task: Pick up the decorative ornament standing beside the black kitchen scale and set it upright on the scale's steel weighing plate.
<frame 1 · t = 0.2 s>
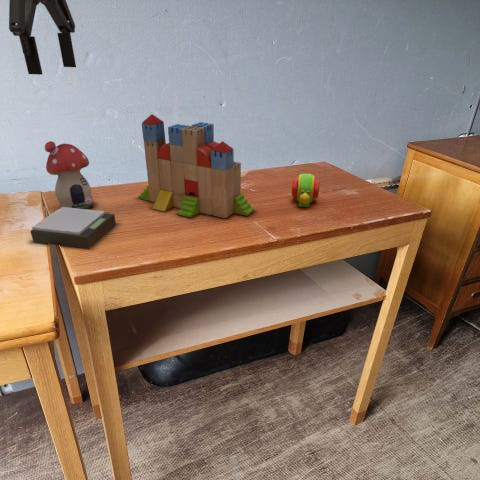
hand: (53, 70, 95), 27 cm above the table, tool pointing down, fingers open, 13 cm apart
block set: (194, 205, 105), on the table
decorative ornament: (77, 207, 103), on the table
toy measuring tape: (304, 196, 111), on the table
kitchen scale: (76, 232, 91), on the table
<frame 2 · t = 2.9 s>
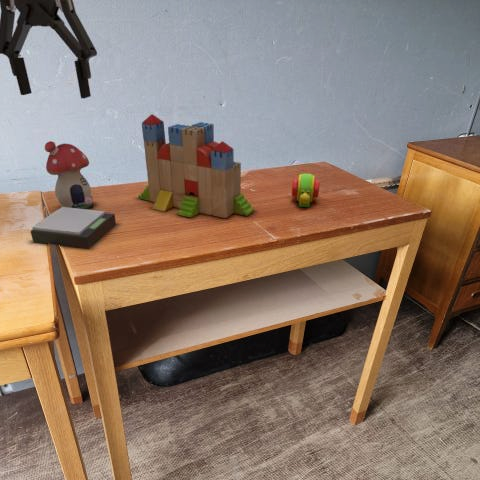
hand: (55, 95, 91), 23 cm above the table, tool pointing down, fingers open, 13 cm apart
nothing on the table moved.
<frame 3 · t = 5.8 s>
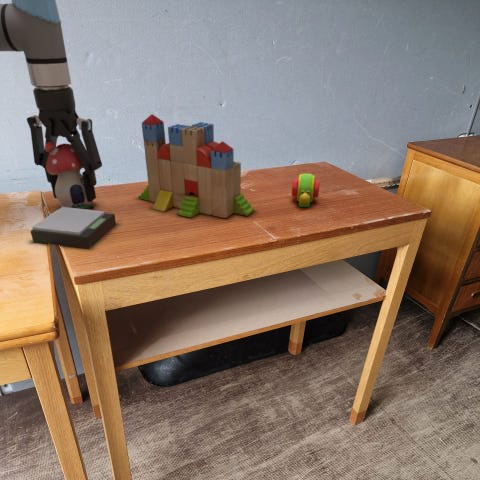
hand: (75, 198, 101), 2 cm above the table, tool pointing down, fingers closed on decorative ornament, 7 cm apart
decorative ornament: (77, 207, 103), on the table, touching gripper
everything else where it was.
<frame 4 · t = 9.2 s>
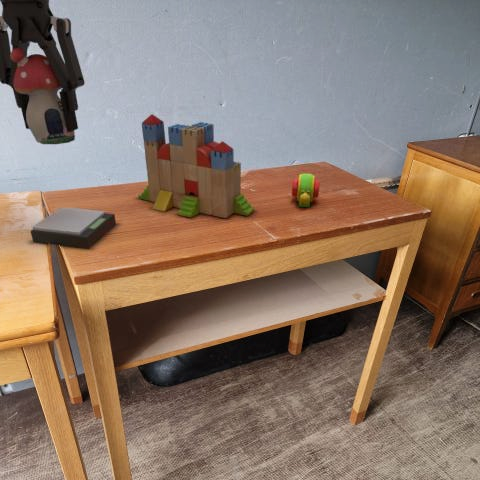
hand: (52, 128, 82), 20 cm above the table, tool pointing down, fingers closed on decorative ornament, 7 cm apart
decorative ornament: (54, 141, 83), point 17 cm above the table, touching gripper
everything else where it was.
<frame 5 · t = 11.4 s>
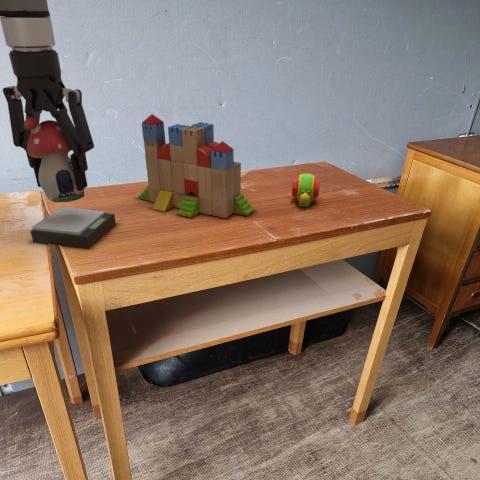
hand: (62, 186, 86), 10 cm above the table, tool pointing down, fingers closed on decorative ornament, 7 cm apart
decorative ornament: (65, 198, 87), point 7 cm above the table, touching gripper
everything else where it was.
when the fingers open (5 cm above the table, at t = 13.0 s): decorative ornament stays where it is, resting on kitchen scale.
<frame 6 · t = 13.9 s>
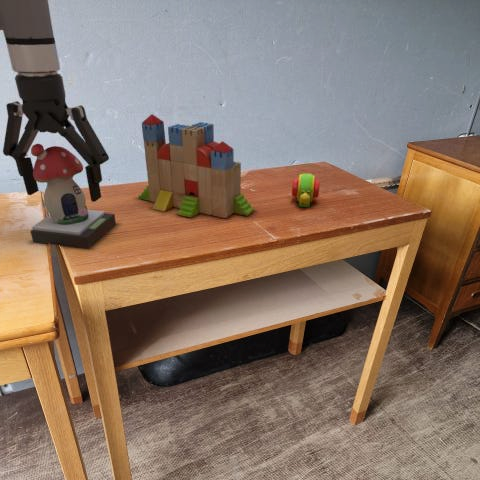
hand: (64, 196, 87), 8 cm above the table, tool pointing down, fingers open, 13 cm apart
decorative ornament: (69, 219, 90), point 3 cm above the table, touching kitchen scale
everything else where it was.
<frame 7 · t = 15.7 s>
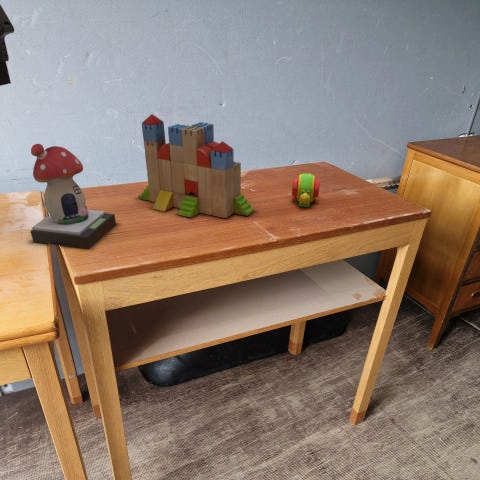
nothing on the table moved.
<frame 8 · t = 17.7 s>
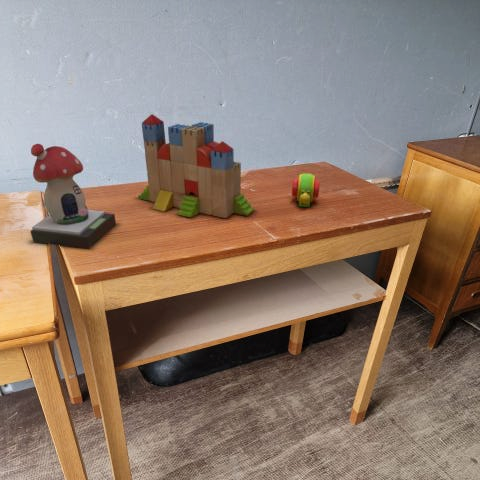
nothing on the table moved.
at the end: decorative ornament inside the target area on the kitchen scale (0.1 cm from its centre), point 2.8 cm above the kitchen scale's base; decorative ornament tilted 0°; the gripper is holding nothing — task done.
